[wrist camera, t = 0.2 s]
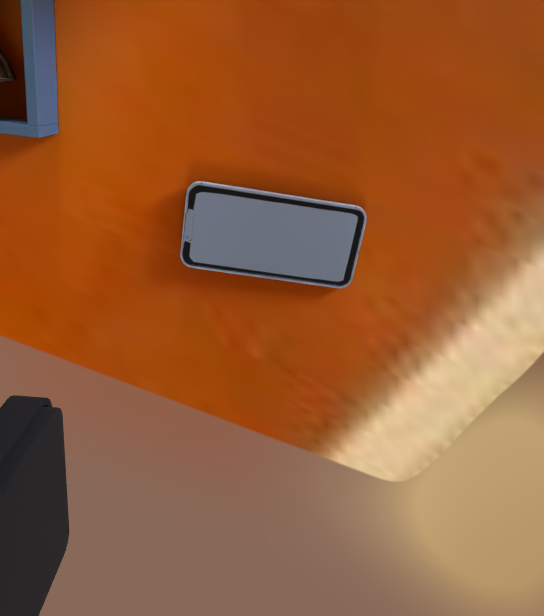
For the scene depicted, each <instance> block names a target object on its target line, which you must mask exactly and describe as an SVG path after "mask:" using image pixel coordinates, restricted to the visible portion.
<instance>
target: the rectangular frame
mask: <svg viewBox="0 0 544 616" xmlns="http://www.w3.org/2000/svg"><path fill="white" fill-rule="evenodd" d="M20 4H21V21H22V38H23V55H24V72H25V90H26V107H27V119H21V118H13V117H5V116H0V133H1V134H9V135H18V136H26V137H34V138H41V137H45V136H50V135H54V134H58V133H59V128H58V103H57V75H56V48H55V21H54V0H20Z"/></svg>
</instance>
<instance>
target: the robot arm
mask: <svg viewBox="0 0 544 616" xmlns="http://www.w3.org/2000/svg"><path fill="white" fill-rule="evenodd" d="M63 434H64V433H63V416H62V411H61V409H60V408H56V407H55V408H54V407H52V404H51V401H50V399H48V398H41V397H28V396H15V395H14V396H11V397H9V398H8V399H7V400H6V402H5V403H4V404H3V405H2V407H1V408H0V616H39V613H40V611H41V608H42V606H43V604H44V601H45V599H46V596H47V594H48V592H49V589H50V587H51V585H52V582H53V580H54V577H55V575H56V573H57V570H58V568H59V565H60V563H61V561H62V558H63V556H64V553H65V551H66V547H67V543H68V537H69V519H68V502H67V485H66V468H65V451H64V435H63Z"/></svg>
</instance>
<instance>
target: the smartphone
mask: <svg viewBox="0 0 544 616" xmlns="http://www.w3.org/2000/svg"><path fill="white" fill-rule="evenodd" d="M366 220H367V217H366V213H365V212H364V210H363V209H362V208H360V207H359V206H356V205H350V204H344V203H337V202H331V201H325V200H318V199H312V198H305V197H299V196H293V195H286V194H280V193H274V192H267V191H261V190H255V189H249V188H243V187H236V186H229V185H223V184H216V183H210V182H204V181H196V182H194V183H192V184H191V185H190V186H189V188H188V189H187V193H186V202H185V212H184V222H183V232H182V242H181V252H180V258H181V261H182V262H183V263H184V264H185V265H186V266H188V267H190V268H197V269H204V270H211V271H218V272H225V273H233V274H240V275H247V276H254V277H261V278H268V279H276V280H283V281H290V282H297V283H304V284H312V285H319V286H326V287H333V288H344V287H347V286H348V285H349V284H350V283H351V281H352V279H353V275H354V271H355V267H356V262H357V258H358V254H359V250H360V246H361V242H362V237H363V233H364V229H365V225H366Z"/></svg>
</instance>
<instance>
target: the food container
mask: <svg viewBox="0 0 544 616" xmlns="http://www.w3.org/2000/svg"><path fill="white" fill-rule="evenodd" d="M11 80H17V78H16V76H15V73H14V71H13V68H12V66H11V63H10V62H9V60H8V59H7V57H6V56H5V55H4V53H3V52H2V50H1V49H0V82H5V81H11Z"/></svg>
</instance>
